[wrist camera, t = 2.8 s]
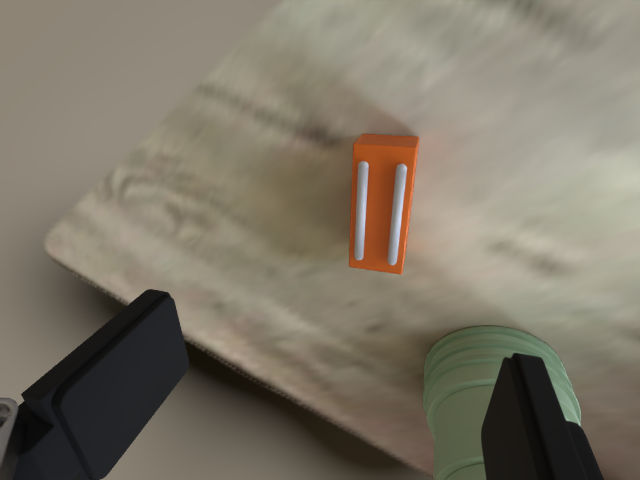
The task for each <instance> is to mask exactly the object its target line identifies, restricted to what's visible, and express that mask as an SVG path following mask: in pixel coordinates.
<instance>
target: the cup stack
mask: <svg viewBox="0 0 640 480" xmlns="http://www.w3.org/2000/svg"><path fill="white" fill-rule="evenodd" d="M513 353H520V354H526V355H532V356H538V357H541V358H542V359H543V361H544V363H545V366H546V369H547V371H548V374H549V377H550V379H551V382H552V385H553V387H554V390H555V393H556V395H557V398H558V401H559V403H560V406H561V409H562V411H563V414H564V417H565V419H566V421H571V422H575V423H578V425H579V426H580V419H581V411H580V406H579V403H578V400H577V398H576V396H575V394H574V392H573V389H572V385H571V383H570V380H569V379H568V377H567V374H566V371H565V368H564V365H563V364H562V362H561V360H560V358H559V357H558V355H557V354H556V353H555V352H554V351H553V350H552V349H551V348H550V347H549V346H548V345H546V344H545V343H544V342H542V341H541V340H539V339H537V338H536V337H534V336H532V335H529V334H527V333H525V332H522V331H519V330H515V329H511V328H506V327H499V326H477V327H470V328H465V329H462V330H458V331H456V332H453V333H451V334H449V335H447V336H445V337H443V338H442V339H441V340H439V341H438V342H437V343H436V344H435V345H434V346H433V347H432V348H431V350H430V351H429V353H428V355H427V357H426V360H425V364H424V384H423V387H424V391H423V407H424V410H425V413H426V415H427V420H428V425H429V429H430V431H431V433H432V435H433V437H434V480H486V474H485V467H484V459H483V452H482V445H481V428H482V424H483V421H484V418H485V415H486V412H487V409H488V405H489V402H490V399H491V396H492V393H493V390H494V386H495V383H496V380H497V377H498V374H499V370H500V367H501V364H502V361H503V359H504V357H508V358H511V357H512V355H513ZM580 427H581V426H580Z"/></svg>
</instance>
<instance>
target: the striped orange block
mask: <svg viewBox="0 0 640 480" xmlns="http://www.w3.org/2000/svg"><path fill="white" fill-rule="evenodd" d="M418 145H419V137H416V136H396V135H375V134H362V135H361V136H360V137H359V138H358V139H357V141H356V142H355V143H354V144H353V165H352V193H351V221H350V250H349V267H354V268H361V269H367V270H374V271H381V272H388V273H395V274H402V272H403V266H404V259H405V253H406V244H407V236H408V228H409V220H410V211H411V203H412V195H413V187H414V178H415V170H416V162H417V154H418Z"/></svg>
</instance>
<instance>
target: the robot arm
mask: <svg viewBox="0 0 640 480" xmlns="http://www.w3.org/2000/svg"><path fill="white" fill-rule="evenodd" d="M188 366H189V359H188V355H187V351H186V347H185V343H184V339H183V335H182V331H181V327H180V322H179V318H178V314H177V310H176V306H175V302H174V299H173V298H171V296H170V294H169V293H168V292H164V291H158V290H152V289H149V290H146V291H145V292H144V293H142V294H141V295H140V296H139V297H138V298H136V299H135V300H134V301H133V302H131V303H130V304H129V305H128V306H127V307H125V308H124V309H123V310H122V311H121V312H119V313H118V314H117V315H116V316H115V317H113V318H112V319H111V320H110V321H109V322H108V323H106V324H105V325H104V326H103V327H102V328H100V329H99V330H98V331H97V332H96V333H94V334H93V335H92V336H91V337H89V338H88V339H87V340H86V341H85V342H83V343H82V344H81V345H80V346H78V347H77V348H76V349H75V350H74V351H72V352H71V353H70V354H69V355H68V356H66V357H65V358H64V359H63V360H62V361H60V362H59V363H58V364H57V365H56V366H54V367H53V368H52V369H51V370H50V371H48V372H47V373H46V374H45V375H44V376H42V377H41V378H40V379H39V380H38V381H36V382H35V383H34V384H33V385H31V386H30V387H29V388H28V389H27V390H25V391H24V392H23V393H22V394H21V395H22V397H23V399H24V400H25V401H24V402H23V403H22V404H20V405H19V406H18V404H17V403H16V401H15V400H13V399H10V398H0V480H100V479H103V478H104V477H105V476H107V474H108V473H109V472H110V471H111V469H112V468H113V467H114V466H115V464H116V463H117V462H118V460H119V459H120V458H121V456H122V455H123V454H124V452H125V451H126V450H127V449H128V447H129V446H130V445H131V443H132V442H133V441H134V440H135V438H136V437H137V436H138V434H139V433H140V432H141V430H142V429H143V428H144V426H145V425H146V424H147V423H148V421H149V420H150V419H151V417H152V416H153V415H154V413H155V412H156V411H157V410H158V408H159V407H160V406H161V404H162V403H163V402H164V400H165V399H166V398H167V396H168V395H169V394H170V392H171V391H172V390H173V389H174V387H175V386H176V385H177V383H178V382H179V381H180V379H181V378H182V377H183V376H184V374H185V373H186V371H187V369H188ZM481 445H482V452H483V459H484V467H485V474H486V480H604V479H603V476H602V474H601V471H600V469H599V466H598V464H597V462H596V459H595V457H594V454H593V452H592V449H591V447H590V445H589V442H588V440H587V437H586V435H585V433H584V431H583V429H582V428H581V427H580V426H579V425H578V423H575V422H571V421H566V419H565V417H564V414H563V411H562V409H561V406H560V403H559V401H558V398H557V395H556V393H555V390H554V387H553V385H552V382H551V379H550V377H549V374H548V371H547V369H546V366H545V363H544V361H543V359H542V358H541V357H538V356H532V355H526V354H520V353H513V355H512V357H511V358H508V357H504V359H503V361H502V364H501V367H500V370H499V374H498V377H497V380H496V383H495V386H494V390H493V393H492V396H491V399H490V402H489V405H488V409H487V412H486V415H485V418H484V421H483V424H482V428H481Z"/></svg>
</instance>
